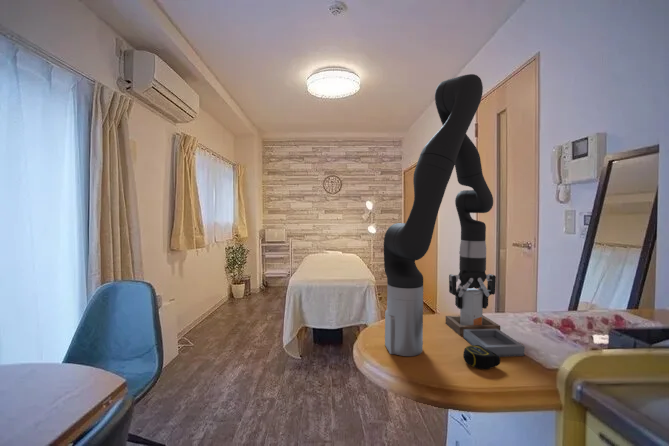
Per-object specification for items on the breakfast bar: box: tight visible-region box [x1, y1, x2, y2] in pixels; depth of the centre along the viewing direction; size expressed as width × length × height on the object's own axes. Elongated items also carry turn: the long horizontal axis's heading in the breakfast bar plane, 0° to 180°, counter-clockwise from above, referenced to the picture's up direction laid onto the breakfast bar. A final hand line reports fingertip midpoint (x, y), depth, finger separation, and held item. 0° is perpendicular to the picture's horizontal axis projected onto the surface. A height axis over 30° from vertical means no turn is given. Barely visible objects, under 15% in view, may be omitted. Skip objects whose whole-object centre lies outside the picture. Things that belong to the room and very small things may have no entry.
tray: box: [463, 329, 525, 358], centre depth 86 cm, size 10×12×2 cm
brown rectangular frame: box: [445, 314, 501, 336], centre depth 99 cm, size 12×10×2 cm
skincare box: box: [459, 288, 484, 325], centre depth 99 cm, size 6×4×12 cm
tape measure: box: [463, 345, 501, 370], centre depth 76 cm, size 7×7×4 cm
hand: (471, 308), depth 99 cm, fingers closed on skincare box, 7 cm apart
